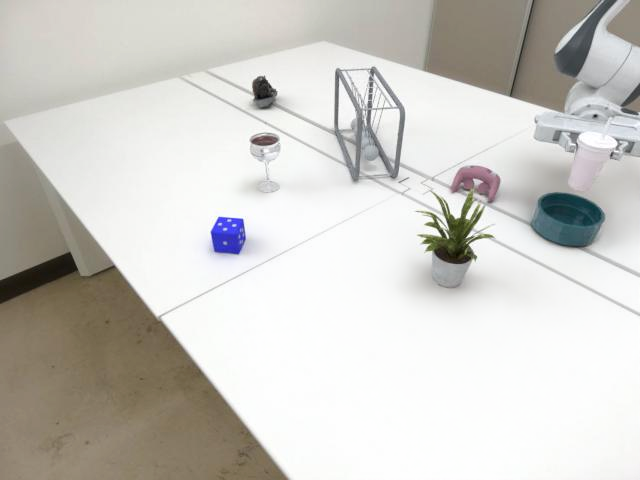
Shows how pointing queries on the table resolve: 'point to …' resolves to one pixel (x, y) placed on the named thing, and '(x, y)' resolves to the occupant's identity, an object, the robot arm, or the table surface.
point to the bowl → (567, 218)
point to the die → (228, 235)
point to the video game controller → (480, 173)
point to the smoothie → (590, 157)
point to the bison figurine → (263, 92)
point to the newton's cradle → (358, 124)
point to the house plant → (453, 243)
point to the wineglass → (266, 155)
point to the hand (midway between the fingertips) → (593, 152)
